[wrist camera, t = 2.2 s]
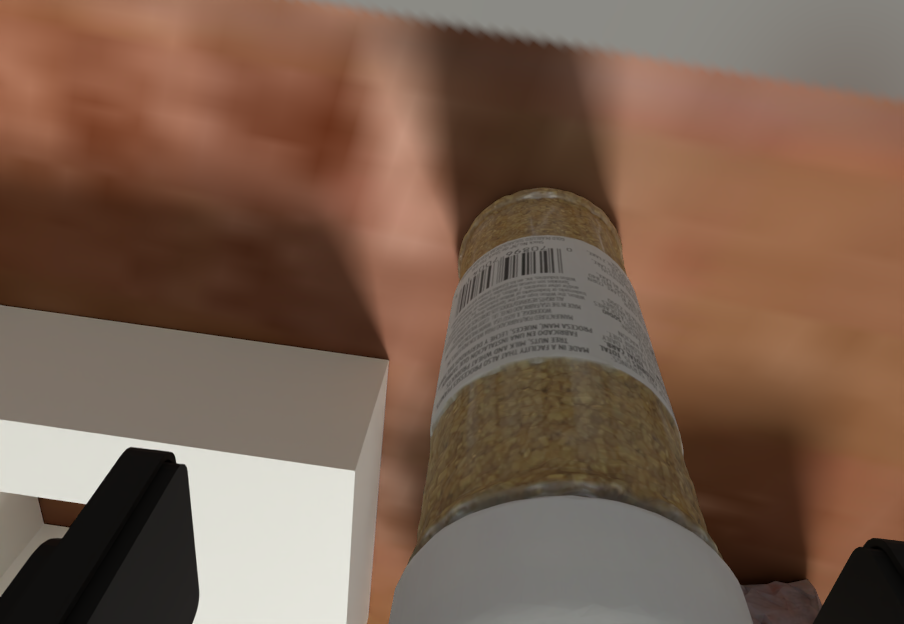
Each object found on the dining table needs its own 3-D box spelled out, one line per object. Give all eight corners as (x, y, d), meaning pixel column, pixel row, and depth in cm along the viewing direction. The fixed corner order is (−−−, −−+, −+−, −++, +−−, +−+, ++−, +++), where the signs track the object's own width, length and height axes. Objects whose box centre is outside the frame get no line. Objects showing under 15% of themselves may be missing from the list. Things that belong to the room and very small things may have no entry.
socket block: (389, 359, 21) (355, 470, 17) (368, 616, 27) (339, 747, 23) (-182, 279, 22) (-359, 367, 17) (-82, 549, 28) (-195, 665, 23)
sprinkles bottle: (473, 339, 21) (413, 875, 9) (445, 194, 19) (317, 645, 7) (631, 321, 20) (788, 879, 8) (619, 167, 18) (808, 623, 6)
